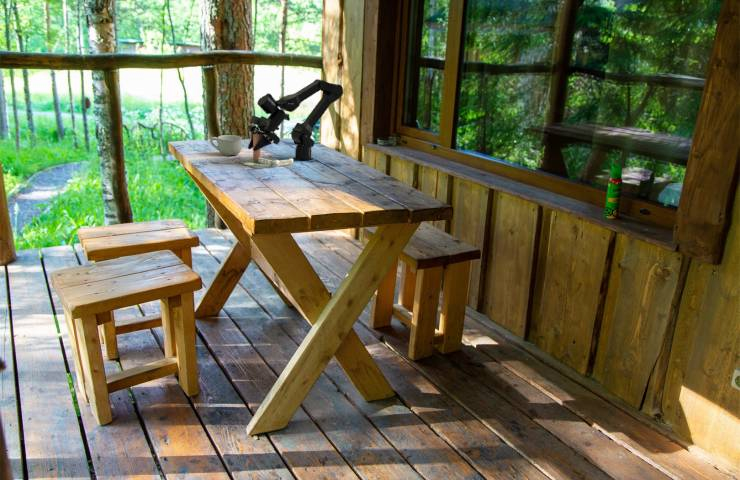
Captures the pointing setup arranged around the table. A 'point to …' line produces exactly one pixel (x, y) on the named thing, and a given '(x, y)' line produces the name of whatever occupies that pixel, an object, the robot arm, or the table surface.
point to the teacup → (228, 144)
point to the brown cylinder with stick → (257, 153)
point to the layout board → (259, 163)
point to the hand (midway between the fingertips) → (251, 149)
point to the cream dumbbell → (283, 162)
